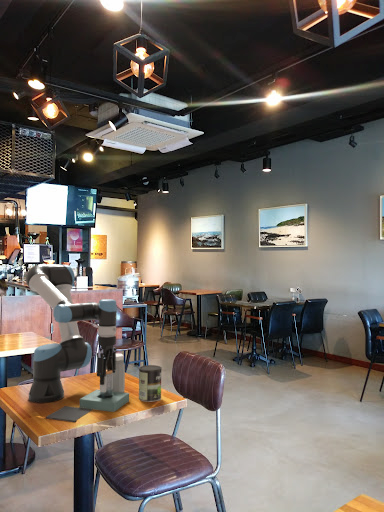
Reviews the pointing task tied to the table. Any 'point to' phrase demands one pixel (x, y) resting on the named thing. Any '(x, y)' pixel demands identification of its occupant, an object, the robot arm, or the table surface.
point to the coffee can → (150, 383)
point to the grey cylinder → (107, 385)
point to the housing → (104, 401)
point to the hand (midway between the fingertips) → (106, 389)
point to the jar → (119, 374)
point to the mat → (68, 414)
